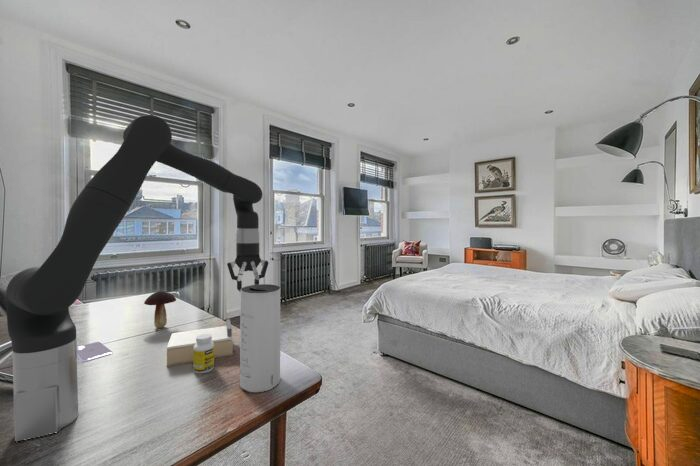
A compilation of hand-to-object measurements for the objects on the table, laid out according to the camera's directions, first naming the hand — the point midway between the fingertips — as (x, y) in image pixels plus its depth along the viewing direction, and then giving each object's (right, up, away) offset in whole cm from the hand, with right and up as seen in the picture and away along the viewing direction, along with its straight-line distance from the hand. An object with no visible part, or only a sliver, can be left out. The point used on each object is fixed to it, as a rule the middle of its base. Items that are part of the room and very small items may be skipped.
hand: (248, 290), depth 100 cm
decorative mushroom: (-41, -19, +17) cm, 48 cm away
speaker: (+11, -20, -23) cm, 33 cm away
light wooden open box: (-13, -19, -5) cm, 24 cm away
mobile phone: (-50, -20, -5) cm, 54 cm away
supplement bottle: (-7, -20, -16) cm, 27 cm away
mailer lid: (-13, -14, -6) cm, 20 cm away
